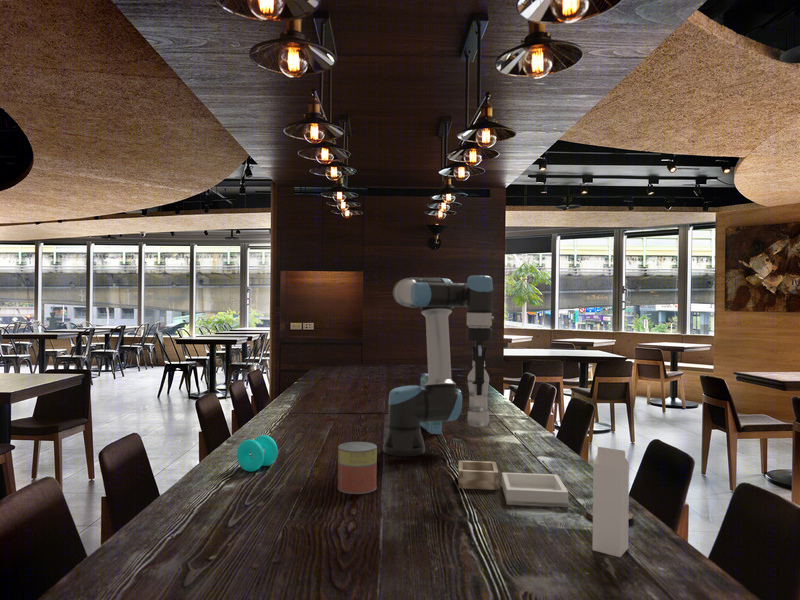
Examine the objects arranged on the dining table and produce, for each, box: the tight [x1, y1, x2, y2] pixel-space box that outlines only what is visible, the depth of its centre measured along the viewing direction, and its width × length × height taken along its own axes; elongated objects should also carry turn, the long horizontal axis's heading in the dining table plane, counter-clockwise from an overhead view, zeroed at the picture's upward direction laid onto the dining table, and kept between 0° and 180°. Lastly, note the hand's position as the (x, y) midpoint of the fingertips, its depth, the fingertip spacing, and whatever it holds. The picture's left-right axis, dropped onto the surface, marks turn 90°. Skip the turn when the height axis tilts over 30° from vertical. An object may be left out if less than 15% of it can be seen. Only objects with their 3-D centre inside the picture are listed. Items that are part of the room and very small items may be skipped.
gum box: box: [419, 373, 443, 435], centre depth 246 cm, size 20×5×23 cm, turn 13°
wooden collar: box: [457, 460, 499, 491], centre depth 172 cm, size 11×11×5 cm
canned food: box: [337, 441, 378, 495], centre depth 166 cm, size 11×11×12 cm
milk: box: [592, 446, 630, 558], centre depth 126 cm, size 6×6×22 cm
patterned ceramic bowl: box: [584, 504, 635, 522], centre depth 145 cm, size 12×12×8 cm
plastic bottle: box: [466, 359, 490, 429], centre depth 172 cm, size 6×7×20 cm
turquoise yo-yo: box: [236, 434, 279, 473], centre depth 185 cm, size 10×10×10 cm
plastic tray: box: [501, 472, 569, 508], centre depth 161 cm, size 16×16×4 cm
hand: (478, 403), depth 172 cm, fingers closed on plastic bottle, 6 cm apart
